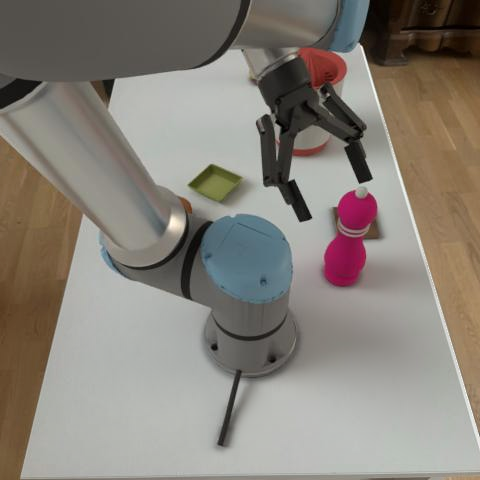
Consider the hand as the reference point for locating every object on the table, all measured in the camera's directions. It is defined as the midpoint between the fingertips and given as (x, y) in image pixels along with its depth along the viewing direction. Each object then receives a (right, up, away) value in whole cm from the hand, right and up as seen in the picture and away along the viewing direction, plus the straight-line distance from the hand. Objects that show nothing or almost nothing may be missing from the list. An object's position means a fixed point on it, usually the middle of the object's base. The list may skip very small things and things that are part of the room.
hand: (337, 200), depth 71 cm
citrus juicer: (-2, +23, +32) cm, 39 cm away
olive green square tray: (-21, +9, +24) cm, 33 cm away
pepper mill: (+3, -11, +11) cm, 15 cm away
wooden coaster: (+7, 0, +17) cm, 18 cm away
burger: (-30, 0, +19) cm, 35 cm away
